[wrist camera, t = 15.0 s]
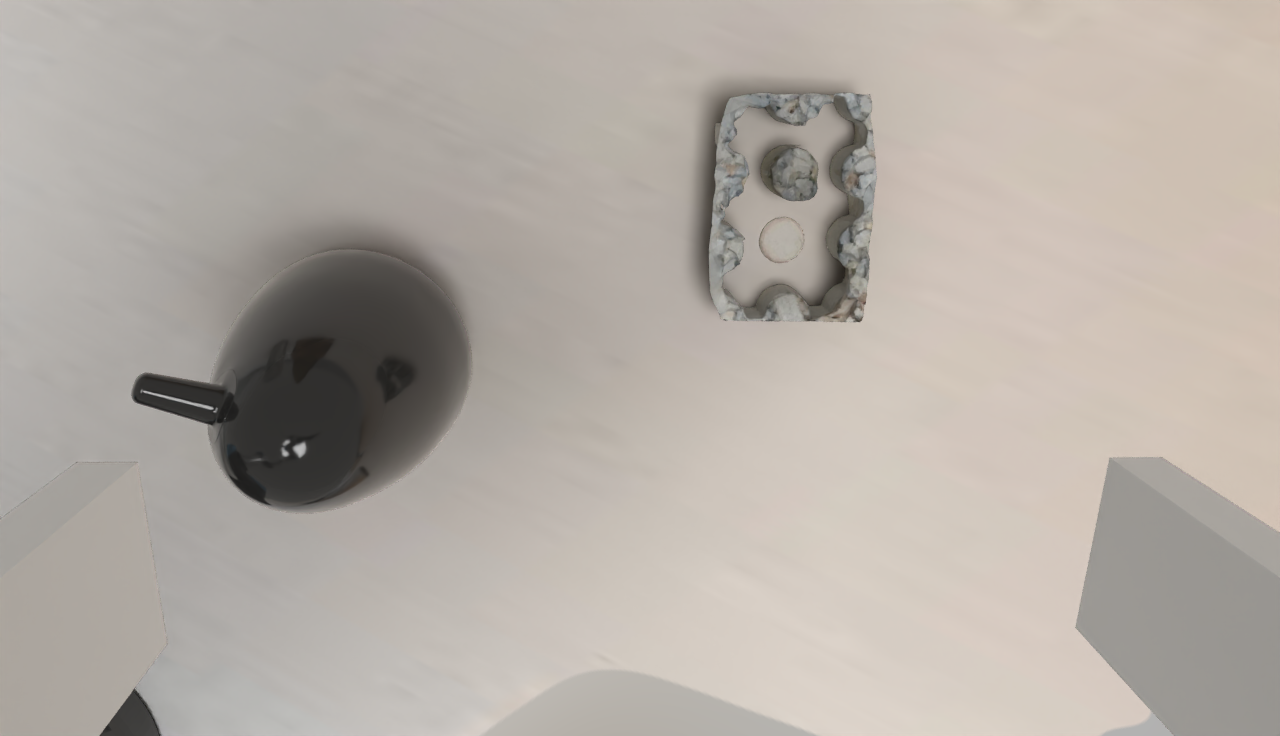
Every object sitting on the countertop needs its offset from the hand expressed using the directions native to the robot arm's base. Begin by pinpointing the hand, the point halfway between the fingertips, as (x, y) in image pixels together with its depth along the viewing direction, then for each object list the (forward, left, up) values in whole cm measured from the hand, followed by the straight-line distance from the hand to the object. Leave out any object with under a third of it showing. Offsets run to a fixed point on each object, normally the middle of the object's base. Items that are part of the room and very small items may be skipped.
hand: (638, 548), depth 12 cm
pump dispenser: (-11, -6, -32) cm, 34 cm away
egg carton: (+9, +1, -32) cm, 33 cm away
